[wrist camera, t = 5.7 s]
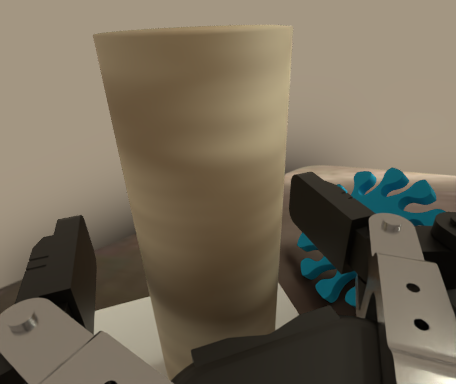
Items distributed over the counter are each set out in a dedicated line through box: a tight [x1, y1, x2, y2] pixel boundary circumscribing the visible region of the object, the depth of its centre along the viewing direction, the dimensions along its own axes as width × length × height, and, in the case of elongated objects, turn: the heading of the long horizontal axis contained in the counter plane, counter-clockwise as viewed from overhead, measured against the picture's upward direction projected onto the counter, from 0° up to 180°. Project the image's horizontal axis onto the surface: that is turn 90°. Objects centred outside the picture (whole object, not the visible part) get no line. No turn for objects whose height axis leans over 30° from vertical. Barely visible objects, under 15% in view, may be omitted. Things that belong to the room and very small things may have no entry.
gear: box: [297, 168, 445, 308], centre depth 22 cm, size 11×6×10 cm
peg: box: [93, 25, 293, 381], centre depth 11 cm, size 4×4×14 cm
